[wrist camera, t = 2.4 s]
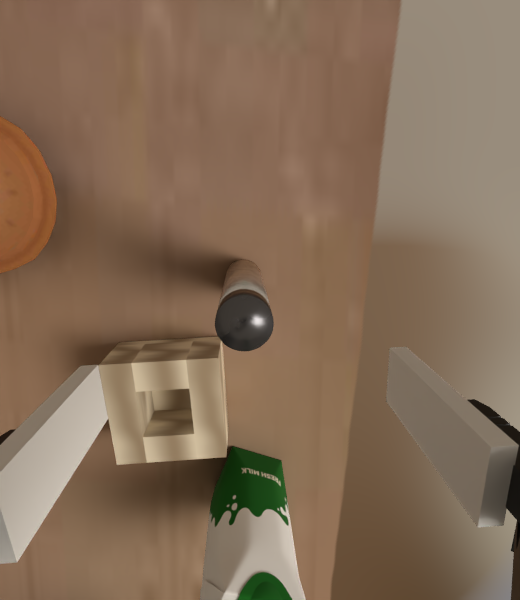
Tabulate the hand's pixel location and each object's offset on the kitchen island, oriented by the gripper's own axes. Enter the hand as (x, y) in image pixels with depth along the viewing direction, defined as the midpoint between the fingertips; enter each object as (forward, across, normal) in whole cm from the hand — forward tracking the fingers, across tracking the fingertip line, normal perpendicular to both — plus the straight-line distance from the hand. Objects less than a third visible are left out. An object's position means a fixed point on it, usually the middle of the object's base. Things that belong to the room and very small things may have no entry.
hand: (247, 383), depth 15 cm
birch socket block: (+24, +9, +13) cm, 29 cm away
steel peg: (+24, 0, 0) cm, 24 cm away
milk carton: (+24, +1, +27) cm, 36 cm away
